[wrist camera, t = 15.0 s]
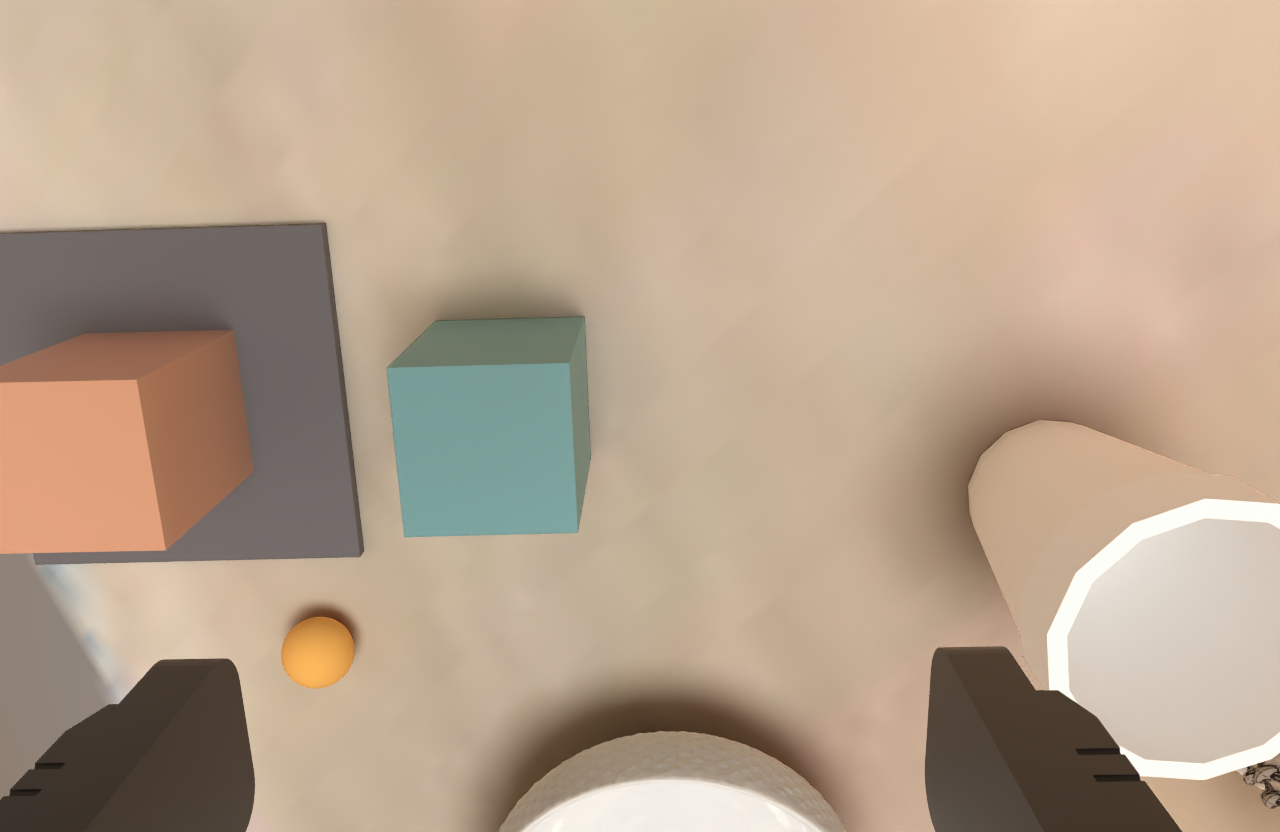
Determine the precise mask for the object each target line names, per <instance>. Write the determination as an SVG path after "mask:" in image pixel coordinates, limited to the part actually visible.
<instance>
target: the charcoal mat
mask: <svg viewBox="0 0 1280 832" xmlns="http://www.w3.org/2000/svg"><path fill="white" fill-rule="evenodd" d="M204 330H234V334H235V341H236V348H237V355H238V362H239V369H240V376H241V383H242V390H243V398H244V405H245V412H246V419H247V426H248V433H249V440H250V447H251V454H252V461H253V468H254V472H253V473H252V474H251V475H249V476H248V477H247V478H246V479H245V480H244V481H243V482H242V483H241V484H239V485H238V486H237V487H236V488H235V489H234V490H233V491H232V492H230V493H229V494H228V495H227V496H226V497H225V498H224V499H223V500H222V501H220V502H219V503H218V504H217V505H216V506H215V507H214V508H213V509H212V510H210V511H209V512H208V513H207V514H206V515H205V516H204V517H203V518H201V519H200V520H199V521H198V522H197V523H196V524H195V525H194V526H193V527H191V528H190V529H189V530H188V531H187V532H186V533H185V534H184V535H183V536H181V537H180V538H179V539H178V540H177V541H176V542H175V543H174V544H172V545H171V546H170V547H169V548H168V549H167V550H163V551H112V552H60V553H33V555H34V560H35V564H36V565H43V564H86V563H128V562H170V561H212V560H254V559H296V558H339V557H360V556H361V555H362V553H363V552H364V547H363V539H362V530H361V522H360V513H359V504H358V496H357V487H356V479H355V470H354V461H353V453H352V444H351V435H350V427H349V418H348V410H347V401H346V392H345V384H344V375H343V367H342V358H341V349H340V341H339V332H338V324H337V315H336V306H335V298H334V289H333V281H332V272H331V263H330V255H329V246H328V238H327V229H326V223H321V224H287V225H253V226H219V227H185V228H151V229H117V230H83V231H49V232H15V233H0V366H1V365H4V364H6V363H9V362H11V361H14V360H17V359H19V358H22V357H24V356H27V355H30V354H32V353H35V352H37V351H40V350H43V349H45V348H48V347H50V346H53V345H56V344H58V343H61V342H64V341H66V340H69V339H71V338H74V337H77V336H79V335H82V334H84V333H117V332H160V331H204Z"/></svg>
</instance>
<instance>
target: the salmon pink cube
mask: <svg viewBox="0 0 1280 832" xmlns="http://www.w3.org/2000/svg"><path fill="white" fill-rule="evenodd" d="M253 472H254V468H253V461H252V454H251V447H250V440H249V433H248V426H247V419H246V412H245V405H244V398H243V390H242V383H241V376H240V369H239V362H238V355H237V348H236V341H235V334H234V330H204V331H160V332H117V333H84V334H82V335H79V336H77V337H74V338H71V339H69V340H66V341H64V342H61V343H58V344H56V345H53V346H50V347H48V348H45V349H43V350H40V351H37V352H35V353H32V354H30V355H27V356H24V357H22V358H19V359H17V360H14V361H11V362H9V363H6V364H4V365H1V366H0V554H6V553H7V554H8V553H60V552H112V551H163V550H167V549H168V548H169V547H170V546H171V545H172V544H174V543H175V542H176V541H177V540H178V539H179V538H180V537H181V536H183V535H184V534H185V533H186V532H187V531H188V530H189V529H190V528H191V527H193V526H194V525H195V524H196V523H197V522H198V521H199V520H200V519H201V518H203V517H204V516H205V515H206V514H207V513H208V512H209V511H210V510H212V509H213V508H214V507H215V506H216V505H217V504H218V503H219V502H220V501H222V500H223V499H224V498H225V497H226V496H227V495H228V494H229V493H230V492H232V491H233V490H234V489H235V488H236V487H237V486H238V485H239V484H241V483H242V482H243V481H244V480H245V479H246V478H247V477H248V476H249V475H251V474H252V473H253Z"/></svg>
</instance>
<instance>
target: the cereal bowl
mask: <svg viewBox="0 0 1280 832" xmlns="http://www.w3.org/2000/svg"><path fill="white" fill-rule="evenodd" d="M499 832H848V831H847V830H846V829H845V827H844V825H843V823H842V821H841V819H840V817H839V816H838V815H837V814H836V813H835V812H834V810H833V809H832V807H831V806H830V804H829V803H828V802H827V801H826V800H824V799H823V797H822V796H821V794H820V793H819V791H817V790H816V789H815V788H813V787H812V786H811V785H810V784H809V783H808V782H807V781H806V780H805V779H804V778H803V777H802V776H800V775H798V774H797V773H796V772H795V771H794V770H793V769H792V768H790V767H788V766H786V765H784V764H783V763H781V762H780V761H778V760H777V759H776V758H773V757H770V756H769V755H767V754H765V753H764V752H761V751H759V750H758V749H755V748H751V747H749V746H748V745H746V744H742V743H739V742H738V741H731V740H729V739H726V738H724V737H718V736H712V735H708V734H706V733H701V734H699V733H696V732H686V731H680V732H675V731H670V732H665V731H658V732H654V733H651V732H649V733H638V734H635V735H632V736H624V737H622V738H616V739H614V740H611V741H607V742H603V743H601V744H599V745H595V746H594V747H591V748H590V749H586V750H583V751H582V752H580V753H578V754H576V755H575V756H572V757H571V758H570V759H568V760H564V761H563V762H562V763H561V764H560V765H559V766H557V767H556V768H554V769H552V770H550V772H548V773H547V774H546V775H545V776H544V777H543V778H542V779H540V780H539V781H537V782H535V783H534V784H533V786H532V787H531V788H530V790H529V791H528V792H527V793H526V794H525V795H524V796H522V798H521V799H519V800H518V802H517V804H516V806H515V807H514V808H513V809H512V811H511V812H510V813H509V815H508V817H507V819H506V821H505V822H504V823H503V824H502V825H501V827H500V829H499Z"/></svg>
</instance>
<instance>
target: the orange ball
mask: <svg viewBox="0 0 1280 832" xmlns="http://www.w3.org/2000/svg"><path fill="white" fill-rule="evenodd" d="M353 658H354V642H353V639H352V636H351V634H350V632H349V631H348V630H347V628H346V627H345V626H344V625H343V624H341V623H340V622H338V621H336V620H334V619H332V618H328V617H313V618H309V619H306V620H304V621H302V622H300V623H299V624H297V625H296V626H295V627H294V628H292V630H291V631H290V632H289V633H288V635H287V636H286V638H285V640H284V643H283V646H282V651H281V659H282V664H283V667H284V670H285V671H286V673H287V674H288V676H289V677H290V678H291V679H292V680H293V681H294V682H296V683H297V684H299V685H301V686H304V687H307V688H323V687H327V686H330V685H332V684H334V683H336V682H337V681H339V680H340V679H341V678H342V677H343V676H344V675H345V674H346V673H347V671H348V670H349V668H350V666H351V664H352V662H353Z"/></svg>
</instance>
